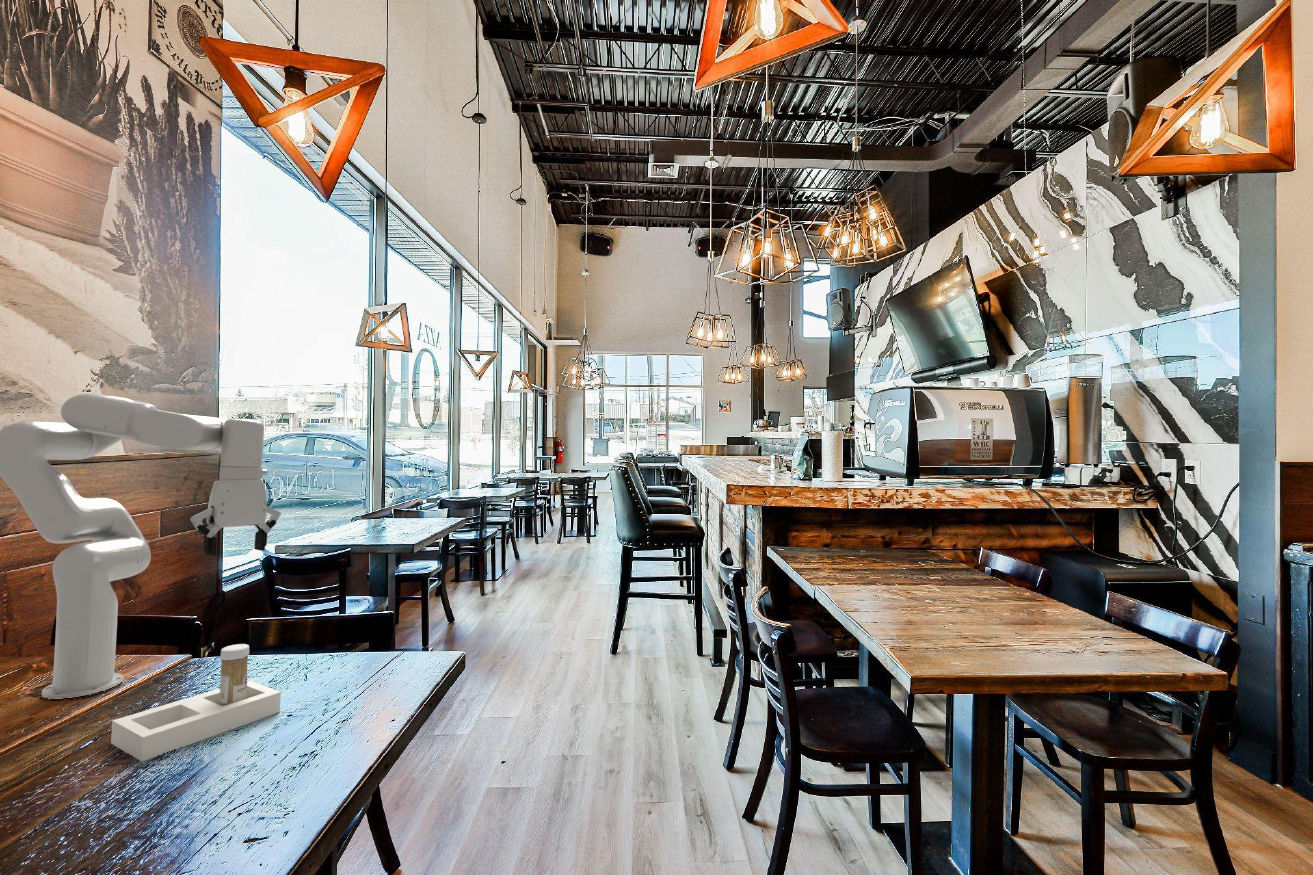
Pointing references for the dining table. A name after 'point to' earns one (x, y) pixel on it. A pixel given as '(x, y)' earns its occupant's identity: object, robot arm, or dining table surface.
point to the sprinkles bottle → (233, 674)
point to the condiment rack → (190, 721)
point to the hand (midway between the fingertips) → (235, 552)
